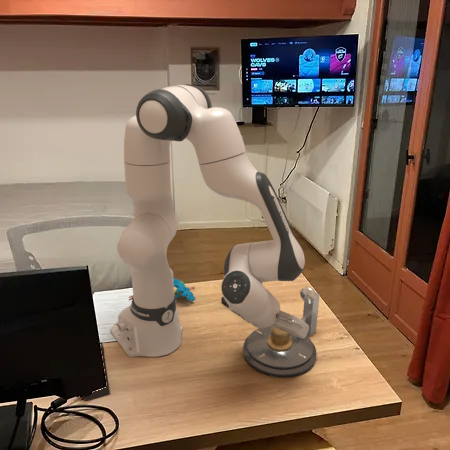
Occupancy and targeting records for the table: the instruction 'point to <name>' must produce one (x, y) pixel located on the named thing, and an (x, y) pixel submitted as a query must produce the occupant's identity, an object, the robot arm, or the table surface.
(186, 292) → the gear
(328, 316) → the table surface
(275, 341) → the brass hub
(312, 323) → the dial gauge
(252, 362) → the turntable base
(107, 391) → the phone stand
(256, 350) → the turntable platter
